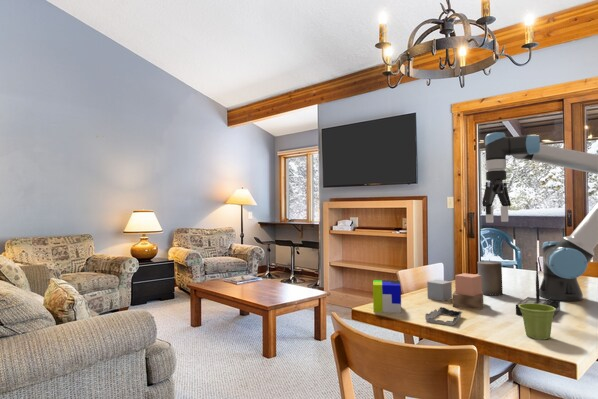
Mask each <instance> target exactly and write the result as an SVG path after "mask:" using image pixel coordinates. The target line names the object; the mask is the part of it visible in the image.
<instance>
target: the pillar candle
mask: <svg viewBox="0 0 598 399" xmlns="http://www.w3.org/2000/svg"><path fill="white" fill-rule="evenodd" d="M502 269H503V266H502V262H500V261H494V260H493V261H492V260H491V259H488V260H483V261H482V260H481V261H477V275H481V280H482V292H483V296H503V294H504V293H503V270H502Z"/></svg>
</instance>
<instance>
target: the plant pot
mask: <svg viewBox="0 0 598 399" xmlns="http://www.w3.org/2000/svg"><path fill="white" fill-rule="evenodd" d="M519 308H520V310H521V313H522V315H521V316H522V319H523V325H524V326H523V327H524V330H525V335H526V337H529V338H532V339H535V340H547V339H551V334H552V326H553V318H554V317H553V315H554V311H556V308H554V307H552V306H548V305H542V304H533V303H526V304H520V305H519Z"/></svg>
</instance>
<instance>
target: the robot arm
mask: <svg viewBox="0 0 598 399" xmlns="http://www.w3.org/2000/svg"><path fill="white" fill-rule="evenodd" d="M484 142H485V143H484V149H485V170H486V172H485V179H486V182H485V188H484V194H483V199H482V207H485V223H486V224H487V223H490V224H492V223H493V224H494V206H493V204H494V201H495V198H496V195H497V198H498V199H499V202H500V204H501V205H500V222H501V223H502V222H505V223H506V222H507V223H508V222H509V207H511V205H512V204H511V198H510V194H509V191H508V186H507V182H504V181H505V180H507V171H506V170H507V157H508V156H511V157H513V158H514V159H517V160H527V161H532V162H537V163H542V164H545V165H546V164H547V165H552V166H555V167H556V166H557V167H560V168H561V167H562V168H566V169H570V170H576V171H580V172H586V173H590V174H594V175H598V154H595V153H589V152H586V151H585V152H584V151H579V150H573V149H569V148H563V147H559V146H558V147H557V146H554V145H553V146H552V145H547V144H542V143H541V140H540V136H539V135H537V134H534V135H533V134H528V135H520V136H506V133H505V132H500V131H499V132H491V133H488V134H486V135H485V140H484ZM597 245H598V201H597V202H596V203H595V204H594V206H593V207H592V208H591V209H590V210H589V212H588V213H587V214H586V215H585V217H584V218H583V220H581V221H580V223H579V224H578V225H577V227H575V229H574V230H573V231H572V233H571V234H570V235H568V236H562V238H561V239H560V240H559V241H556V240H555V241H544V242H543V243H542V247H541V250H542V266H543V269H542V271H543V272H542V273H543V278H542V281H541V283H540V285H539V294H540V297H542V298H543V299H544V298H545V299H547V300H555V301H560V302H561V301H565V302H577V301H578V302H579V301H583V298H584V297H583V291H582V289H581V287H580V283H579V281H578V278H579V277H581V276H582V275H583V274H585V272H586V271H587V268H588V264H589V263H590V262H591V260H592V259H593V257H595V251H594V249H595V248H596V246H597Z"/></svg>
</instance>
